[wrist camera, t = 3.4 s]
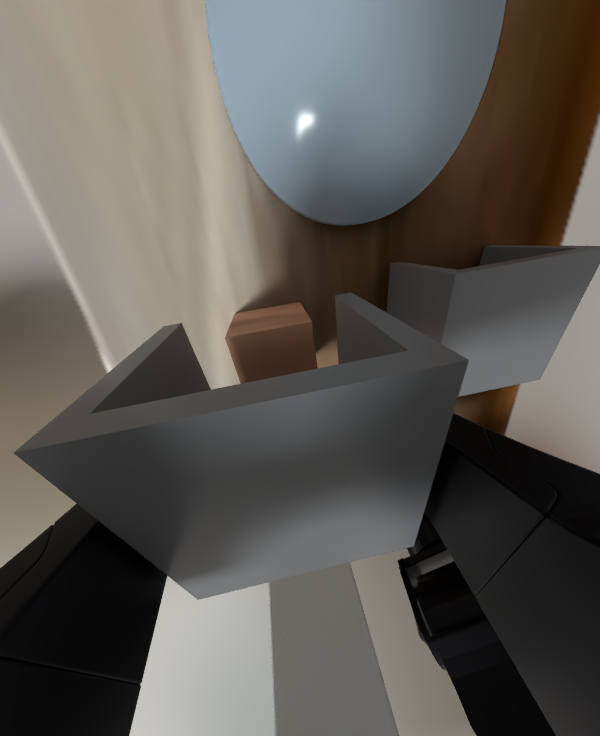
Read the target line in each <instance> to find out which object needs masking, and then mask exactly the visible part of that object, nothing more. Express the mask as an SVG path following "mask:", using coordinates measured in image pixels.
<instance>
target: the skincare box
mask: <svg viewBox="0 0 600 736" xmlns="http://www.w3.org/2000/svg"><path fill="white" fill-rule="evenodd" d="M269 607H270V631H271V658H272V683H273V710H274V736H399V734H398V731H397V727H396V723H395V720H394V716H393V713H392V709H391V706H390V702H389V699H388V695H387V692H386V688H385V684H384V681H383V677H382V674H381V670H380V667H379V663H378V660H377V656H376V653H375V649H374V646H373V642H372V639H371V636H370V632H369V629H368V625H367V621H366V618H365V614H364V610H363V607H362V604H361V600H360V597H359V593H358V589H357V586H356V582H355V579H354V575H353V572H352V568H351V565H350V562H348V563H344V564H340V565H336V566H332V567H328V568H324V569H320V570H316V571H312V572H308V573H304V574H300V575H296V576H292V577H287V578H283V579H279V580H275V581H271V582H269Z"/></svg>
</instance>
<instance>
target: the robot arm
mask: <svg viewBox="0 0 600 736" xmlns="http://www.w3.org/2000/svg"><path fill="white" fill-rule="evenodd" d="M407 549H408V552H409V554H410V557H407V558H405V559H403V558H402V559H400V560H398V563H399V566H400V567H399V569H400V573H401V576H402V579H403V582H404V585H405V588H406V590H407V594H408V597H409V600H410V603H411V606H412V609H413V612H414V616H415V621H416V625H417V629H418V633H419V636H420V637H421V639H422V641H423V642H425V643H426V644H427V645H428V646H429V648H430V650H431V652H432V654H433V656H434V658H435V659H436V661H437V662H438V664H439V665H440V666H441V668H442V669H443V670H447V672H448V674H449V676H450V678H451V680H452V683H453V685H454V687H455V689H456V691H457V694H458V696H459V699H460V701H461V703H462V706H463V708H464V710H465V713H466V715H467V718H468V720H469V722H470V725H471V727H472V729H473V730H474V732H475V733H476V735H477V736H600V474H599V473H596V472H593V471H591V470H588V469H586V468H583V467H580V466H578V465H575V464H573V463H570V462H567V461H565V460H562V459H559V458H557V457H554V456H552V455H549V454H547V453H544V452H542V451H539V450H537V449H534V448H532V447H529V446H527V445H525V444H522V443H520V442H517V441H515V440H513V439H511V438H508V437H506V436H503V435H501V434H499V433H497V432H494V431H492V430H490V429H488V428H486V429H485V428H484V427H483V426H481V425H479V424H476V423H474V422H472V421H470V420H467V419H465V418H463V417H461V416H458V415H456V414H454V413H453V416H452V419H451V423H450V426H449V429H448V433H447V436H446V439H445V443H444V446H443V450H442V453H441V456H440V460H439V463H438V466H437V470H436V473H435V476H434V480H433V483H432V487H431V490H430V493H429V497H428V500H427V503H426V507H425V510H424V513H423V517H422V520H421V524H420V527H419V530H418V534H417V537H416V540H415V544H414V546H413V547H409V548H407ZM166 578H167V575H166V574H165V573H164V572H162V571H161V570H160V569H159V568H157V567H156V566H155V565H154V564H152V563H151V562H150V561H149V560H147V559H146V558H145V557H144V556H142V555H141V554H140V553H139V552H137V551H136V550H135V549H134V548H132V547H131V546H130V545H129V544H127V543H126V542H125V541H124V540H122V539H121V538H120V537H118V536H117V535H116V534H115V533H113V532H112V531H111V530H110V529H108V528H107V527H106V526H105V525H103V524H102V523H101V522H100V521H98V520H97V519H96V518H95V517H93V516H92V515H91V514H90V513H88V512H87V511H86V510H85V509H83V508H82V507H81V506H80V505H78V504H76V505H74V506H73V507H72V508H71V509H70V510H69V511H68V512H66V513H65V514H64V515H63V516H62V517H60V518H59V519H58V520H57V521H56V522H55V523H54V525H51V526H50V527H49V528H48V529H46V530H45V531H44V532H43V533H42V534H41V535H39V536H38V537H37V538H36V539H35V540H34V541H33V542H31V543H30V544H29V545H28V546H26V547H25V548H24V549H23V550H22V551H21V552H19V553H18V554H17V555H16V556H14V557H13V558H12V559H11V560H10V561H8V562H7V563H6V564H5V565H4V566H3V567H1V568H0V736H129V733H130V730H131V725H132V721H133V717H134V713H135V709H136V704H137V700H138V696H139V692H140V688H141V685H140V684H141V682H142V678H143V674H144V670H145V666H146V661H147V658H148V653H149V649H150V645H151V641H152V637H153V633H154V628H155V624H156V620H157V616H158V612H159V607H160V603H161V599H162V595H163V590H164V586H165V582H166Z"/></svg>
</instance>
